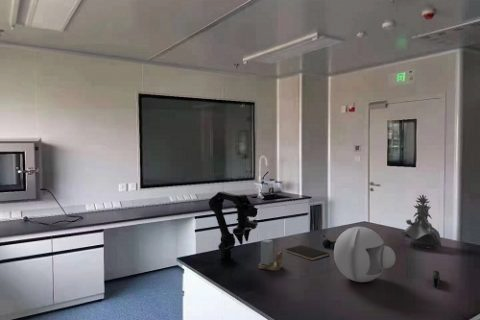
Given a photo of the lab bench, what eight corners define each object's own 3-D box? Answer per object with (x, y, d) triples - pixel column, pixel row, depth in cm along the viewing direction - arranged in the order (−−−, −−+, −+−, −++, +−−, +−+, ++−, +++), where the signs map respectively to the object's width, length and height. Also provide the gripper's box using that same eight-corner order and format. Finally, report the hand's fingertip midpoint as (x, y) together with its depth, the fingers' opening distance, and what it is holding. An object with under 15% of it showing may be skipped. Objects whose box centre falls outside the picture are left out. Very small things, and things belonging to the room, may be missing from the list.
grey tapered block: (260, 263, 205) (260, 241, 204) (265, 260, 210) (265, 238, 209) (268, 265, 202) (268, 242, 202) (273, 262, 207) (272, 240, 206)
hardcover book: (311, 261, 217) (311, 257, 217) (285, 252, 235) (285, 248, 235) (328, 256, 226) (328, 252, 226) (302, 248, 245) (302, 244, 245)
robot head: (390, 297, 163) (390, 237, 162) (326, 284, 179) (326, 230, 178) (399, 277, 187) (400, 225, 186) (342, 267, 203) (342, 219, 202)
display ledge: (258, 268, 204) (258, 252, 203) (262, 263, 211) (262, 248, 211) (278, 270, 199) (278, 254, 199) (282, 266, 207) (282, 250, 206)
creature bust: (442, 244, 248) (443, 194, 246) (440, 253, 228) (441, 198, 227) (405, 239, 261) (405, 192, 259) (400, 247, 241) (400, 196, 240)
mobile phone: (432, 269, 186) (432, 278, 173) (439, 270, 185) (440, 279, 171) (432, 278, 186) (432, 288, 173) (439, 279, 185) (439, 289, 171)
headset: (318, 233, 244) (340, 233, 251) (317, 246, 244) (339, 246, 251) (330, 237, 232) (353, 237, 240) (329, 251, 232) (352, 251, 240)
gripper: (249, 218, 197) (252, 246, 197) (260, 213, 215) (262, 239, 214) (231, 218, 201) (233, 246, 201) (243, 214, 219) (244, 239, 218)
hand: (244, 243), depth 209 cm, fingers open, 9 cm apart
